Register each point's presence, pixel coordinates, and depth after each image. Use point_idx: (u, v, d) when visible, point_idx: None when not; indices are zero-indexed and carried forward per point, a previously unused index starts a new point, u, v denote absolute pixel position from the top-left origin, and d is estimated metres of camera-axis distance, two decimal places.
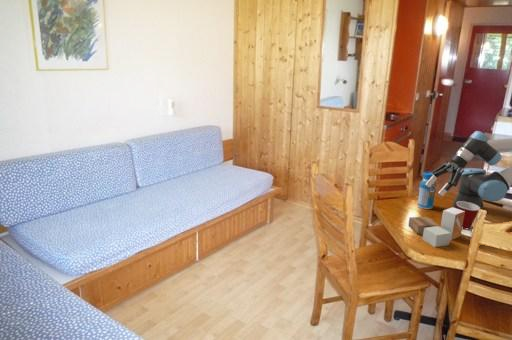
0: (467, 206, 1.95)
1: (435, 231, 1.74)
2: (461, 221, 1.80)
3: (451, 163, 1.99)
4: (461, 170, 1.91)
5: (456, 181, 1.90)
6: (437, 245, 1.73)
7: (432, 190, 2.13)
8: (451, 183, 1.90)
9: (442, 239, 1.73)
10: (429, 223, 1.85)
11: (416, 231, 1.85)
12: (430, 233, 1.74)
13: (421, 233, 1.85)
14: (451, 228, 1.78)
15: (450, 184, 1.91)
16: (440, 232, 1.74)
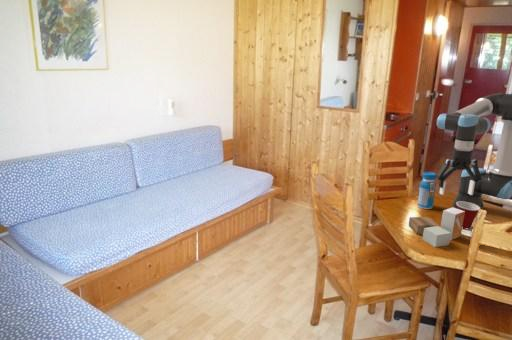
0: (467, 206, 1.95)
1: (436, 231, 1.74)
2: (461, 221, 1.80)
3: (458, 160, 1.72)
4: None
5: None
6: (437, 245, 1.73)
7: (432, 190, 2.13)
8: (479, 179, 1.75)
9: (442, 239, 1.73)
10: (429, 223, 1.85)
11: (416, 231, 1.85)
12: (430, 233, 1.74)
13: (421, 233, 1.85)
14: (451, 228, 1.78)
15: None
16: (441, 232, 1.74)
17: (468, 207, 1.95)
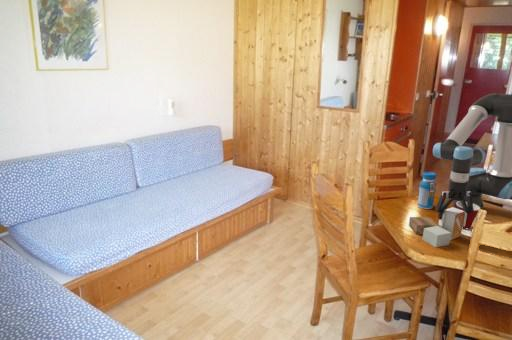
0: (467, 206, 1.95)
1: (436, 231, 1.74)
2: (461, 221, 1.80)
3: (454, 191, 1.76)
4: None
5: None
6: (438, 245, 1.73)
7: (432, 190, 2.13)
8: (471, 211, 1.79)
9: (442, 239, 1.73)
10: (429, 223, 1.85)
11: (415, 231, 1.86)
12: (430, 233, 1.74)
13: (420, 233, 1.85)
14: (451, 228, 1.78)
15: None
16: (441, 232, 1.74)
17: None
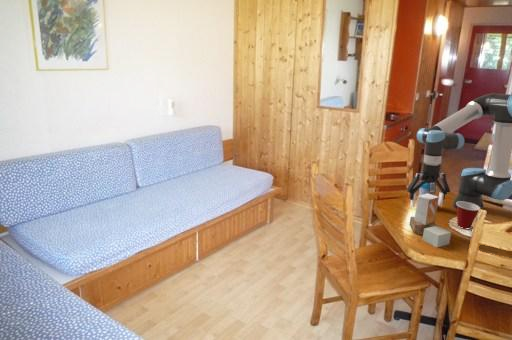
0: (467, 206, 1.95)
1: (436, 231, 1.74)
2: (435, 206, 1.85)
3: (427, 174, 1.81)
4: None
5: None
6: (439, 245, 1.72)
7: (432, 190, 2.13)
8: None
9: (443, 239, 1.73)
10: (427, 224, 1.85)
11: (413, 230, 1.86)
12: (431, 233, 1.74)
13: (418, 233, 1.85)
14: (425, 213, 1.83)
15: None
16: (441, 232, 1.74)
17: (468, 207, 1.95)
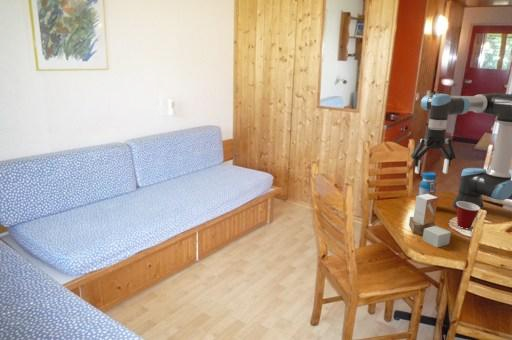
0: (467, 206, 1.95)
1: (436, 231, 1.74)
2: (434, 207, 1.84)
3: (432, 139, 1.76)
4: None
5: None
6: (439, 245, 1.72)
7: (432, 190, 2.13)
8: (453, 158, 1.79)
9: (443, 239, 1.73)
10: (427, 224, 1.85)
11: (412, 230, 1.87)
12: (431, 234, 1.74)
13: (417, 233, 1.85)
14: (423, 213, 1.83)
15: None
16: (441, 232, 1.74)
17: (468, 207, 1.95)
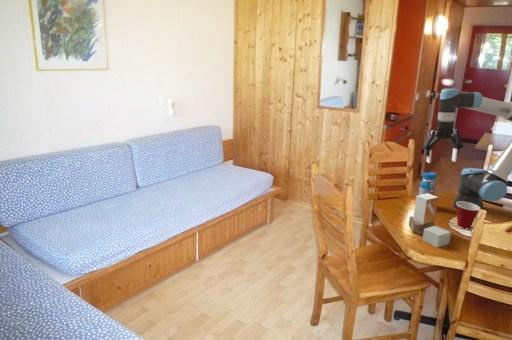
0: (467, 206, 1.95)
1: (436, 231, 1.74)
2: (434, 206, 1.84)
3: (442, 130, 1.91)
4: None
5: None
6: (439, 245, 1.72)
7: (432, 190, 2.13)
8: (461, 147, 1.94)
9: (443, 239, 1.73)
10: None
11: (412, 230, 1.87)
12: (431, 234, 1.74)
13: (417, 232, 1.86)
14: (422, 213, 1.83)
15: None
16: (441, 232, 1.74)
17: (468, 207, 1.95)
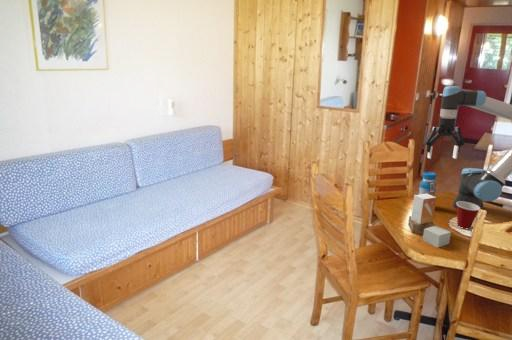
0: (467, 206, 1.95)
1: (436, 231, 1.74)
2: (432, 206, 1.84)
3: (443, 127, 1.94)
4: None
5: None
6: (439, 245, 1.72)
7: (432, 190, 2.13)
8: (462, 144, 1.97)
9: (443, 239, 1.73)
10: (426, 223, 1.86)
11: (411, 230, 1.87)
12: (431, 234, 1.74)
13: (416, 232, 1.86)
14: (420, 213, 1.84)
15: (460, 145, 1.98)
16: (441, 232, 1.74)
17: (468, 207, 1.95)
